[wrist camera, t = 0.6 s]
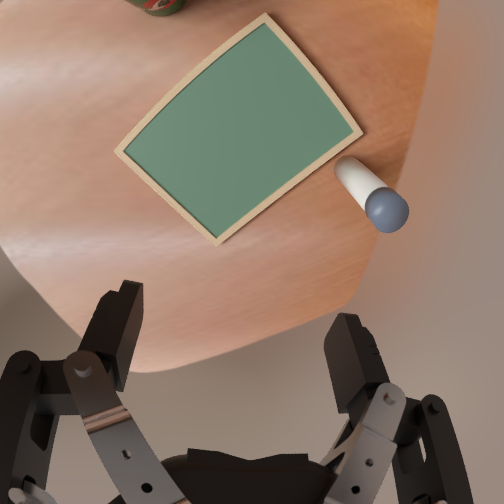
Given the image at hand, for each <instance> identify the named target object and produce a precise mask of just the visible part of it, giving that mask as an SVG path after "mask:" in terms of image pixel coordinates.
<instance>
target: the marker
mask: <svg viewBox="0 0 504 504" xmlns="http://www.w3.org/2000/svg"><path fill="white" fill-rule="evenodd" d="M334 172H335V175H336V177H337V178H338V179H339V180H340V182H341V183H342V184H343V185H344V186H345V188H346V189H347V190H348V191H349V192H350V194H351V195H352V196H353V197H354V198H355V200H356V201H357V202H358V203H359V205H360V206H361V207H362V208H363V210H364V211H365V212H366V215H367V216H368V218H369V219H370V220H371V222H372V223H373V224H374V225H375V227H376V228H377V229H378V230H379V231H381V232H383V233H391V232H395V231H397V230H398V229H400V228H401V227H402V226H403V225H404V224H405V222H406V221H407V218H408V215H409V207H408V204H407V202H406V201H405V200H404V199H403V198H402V197H401V196H400V195H399V194H397V192H395V191H394V190H393V189H391V188H389V187H388V186H387V185H386V184H385V183H384V182H383V181H382V180H380V179H379V178H378V177H377V176H376V175H375V174H374V173H372V172H371V171H370V170H369V169H368V168H367V167H365V166H364V165H363V164H362V163H361V162H359V161H358V160H357V159H356V158H354V157H352V156H343V157H341V158H340V159H339V160H338V161H337V162H336V164H335V167H334Z"/></svg>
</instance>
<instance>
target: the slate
mask: <svg viewBox="0 0 504 504" xmlns="http://www.w3.org/2000/svg"><path fill="white" fill-rule="evenodd" d="M361 135H363V132H362V131H361V129H360V128H359V126H358V125H357V123H356V122H355V120H354V119H353V117H352V116H351V115H350V113H349V112H348V110H347V109H346V108H345V106H344V105H343V103H342V102H341V101H340V99H339V98H338V97H337V95H336V94H335V93H334V91H333V90H332V89H331V87H330V86H329V85H328V83H327V82H326V81H325V80H324V78H323V77H322V76H321V75H320V73H319V72H318V71H317V70H316V68H315V67H314V66H313V65H312V63H311V62H310V61H309V60H308V59H307V57H306V56H305V55H304V54H303V53H302V52H301V50H300V49H299V48H298V47H297V46H296V45H295V44H294V42H293V41H292V40H291V39H290V38H289V37H288V36H287V35H286V34H285V33H284V31H283V30H282V29H281V28H280V27H279V26H278V25H277V24H276V23H275V22H274V21H273V20H272V19H271V18H270V17H269V16H268V15H267V14H266V13H264V14H262V15H261V16H259V17H258V18H257V19H255V20H254V21H252V22H251V23H250V24H248V25H247V26H246V27H244V28H243V29H242V30H240V31H239V32H238V33H236V34H235V35H234V36H232V37H231V38H230V39H229V40H227V41H226V42H225V43H224V44H222V45H221V46H220V47H219V48H217V49H216V50H215V51H214V52H213V53H211V54H210V55H209V56H208V57H207V58H205V59H204V60H203V61H202V62H201V63H200V64H198V65H197V66H196V67H195V68H194V69H193V70H192V71H191V72H189V73H188V74H187V75H186V76H185V77H184V78H183V79H182V80H181V81H180V82H179V83H178V84H176V85H175V86H174V87H173V88H172V89H171V90H170V91H169V92H168V93H167V94H166V95H165V96H164V97H163V98H162V99H161V100H160V101H159V102H158V103H157V104H156V105H155V106H154V107H153V108H152V109H151V110H150V111H149V112H148V113H147V114H146V115H145V117H144V118H143V119H142V120H141V121H140V122H139V123H138V124H137V125H136V126H135V127H134V128H133V129H132V131H131V132H130V133H129V134H128V135H127V136H126V137H125V138H124V140H123V141H122V142H121V143H120V144H119V145H118V147H117V148H116V149H115V150H114V151H113V152H114V153H115V154H116V155H117V156H118V157H120V158H121V159H122V160H123V161H124V162H125V163H126V164H127V165H128V166H129V167H130V168H131V169H132V170H133V171H134V172H135V173H136V174H138V175H139V176H140V177H141V178H142V179H143V180H144V181H145V182H146V183H147V184H148V185H149V186H150V187H151V188H152V189H154V190H155V191H156V192H157V193H158V194H159V195H160V196H161V197H162V198H163V199H164V200H165V201H166V202H167V203H169V204H170V205H171V206H172V207H173V208H174V209H175V210H176V211H177V212H178V213H179V214H180V215H182V216H183V217H184V218H185V219H186V220H187V221H188V222H189V223H190V224H191V225H192V226H193V227H195V228H196V229H197V230H198V231H199V232H200V233H201V234H202V235H203V236H204V237H206V238H207V239H208V240H209V241H210V242H211V243H212V244H213V245H214V246H215V247H217V246H218V245H219V244H221V243H222V242H223V241H224V240H226V239H227V238H228V237H229V236H231V235H232V234H233V233H234V232H236V231H237V230H238V229H239V228H241V227H242V226H243V225H245V224H246V223H247V222H248V221H250V220H251V219H252V218H253V217H255V216H256V215H257V214H259V213H260V212H261V211H262V210H264V209H265V208H266V207H268V206H269V205H270V204H271V203H273V202H274V201H275V200H277V199H278V198H279V197H280V196H282V195H283V194H284V193H286V192H287V191H288V190H290V189H291V188H292V187H293V186H295V185H296V184H297V183H299V182H300V181H301V180H303V179H304V178H305V177H307V176H308V175H309V174H310V173H312V172H313V171H314V170H316V169H317V168H318V167H320V166H321V165H322V164H324V163H325V162H326V161H328V160H329V159H330V158H332V157H333V156H334V155H336V154H337V153H338V152H340V151H341V150H342V149H344V148H345V147H346V146H348V145H349V144H350V143H352V142H353V141H354V140H356V139H357V138H359V137H360V136H361Z"/></svg>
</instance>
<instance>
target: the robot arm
mask: <svg viewBox="0 0 504 504" xmlns="http://www.w3.org/2000/svg"><path fill="white" fill-rule="evenodd" d="M142 320H143V283H140V282H134V281H129V280H124V281H123V283H122V285H121V287H120V290H119V292H116V291H111V290H110V291H108V292H107V293H106V294H105V295H104V296H103V297H101V299H100V301H99V303H98V305H97V307H96V310H95V312H94V314H93V317H92V318H91V320H90V323H89V325H88V327H87V330H86V332H85V334H84V336H83V339H82V341H81V344H80V346H79V348H78V350H77V351H75V352H73V353H71V354H70V355H68V356H67V358H66V359H64V360H58V361H40V359H39V357H38V356H37V355H36V354H35V353H33V352H31V351H27V350H24V351H19V352H16V353H15V354H13V355H12V356H11V357H10V358H9V360H8V362H7V364H6V367H5V369H4V371H3V374H2V376H1V379H0V504H57V503H56V501H55V499H54V498H53V497H52V496H51V495H50V494H49V493H47V492H46V491H45V488H46V482H47V475H48V469H49V463H50V458H51V453H52V448H53V443H54V438H55V434H56V429H57V425H58V421H59V417H60V415H80V416H81V418H82V420H83V423H84V426H85V429H86V431H87V433H88V435H89V437H90V439H91V441H92V443H93V446H94V448H95V449H96V452H97V453H98V455H99V457H100V459H101V461H102V463H103V465H104V467H105V469H106V470H107V472H108V474H109V475H110V477H111V479H112V481H113V483H114V484H115V486H116V488H117V489H118V491H119V493H120V495H118V496H117V497H116V498H115V499H113V500H112V501H111V502H110V503H108V504H372V503H373V501H374V499H375V497H376V495H377V493H378V491H379V488H380V486H381V484H382V482H383V480H384V477H385V475H386V473H387V471H388V468H389V466H390V463H391V461H392V466H393V471H394V477H395V483H396V489H397V495H398V501H399V504H474V503H473V498H472V494H471V489H470V485H469V481H468V477H467V473H466V469H465V465H464V462H463V458H462V454H461V451H460V448H459V444H458V441H457V438H456V434H455V432H454V428H453V425H452V422H451V419H450V416H449V413H448V410H447V407H446V405H445V403H444V402H443V400H442V399H441V398H440V397H438V396H436V395H431V394H429V395H427V396H425V397H424V398H423V399H422V400H421V401H420V400H415V399H412V398H408V397H405V394H404V392H403V391H402V390H401V389H400V388H399V387H398V386H396V385H394V384H392V383H390V380H389V377H388V374H387V372H386V369H385V366H384V364H383V361H382V358H381V356H380V355H379V354H380V353H379V350H378V348H377V345H376V343H375V340H374V337H373V335H372V334H371V333H370V332H369V331H368V329H367V328H366V327H362V325H361V322H360V319H359V317H358V315H356V314H348V313H339V314H338V315H337V317H336V319H335V321H334V323H333V324H332V326H331V328H330V330H329V332H328V333H327V335H326V337H325V341H324V352H325V356H326V360H327V364H328V368H329V373H330V377H331V381H332V386H333V390H334V395H335V399H336V403H337V408H338V413H339V414H340V413H349V419H348V420H347V421H346V423H345V425H344V426H343V428H342V430H341V432H340V434H339V435H338V437H337V439H336V441H335V442H334V444H333V446H332V448H331V449H330V451H329V452H328V454H327V455H326V456H325V457H324V458H323V459H322V461H321V462H320V463H319V464H318V463H316V462H313V461H309V460H308V454H278V455H274V456H270V457H265V458H261V459H256V460H246V459H242V458H239V457H235V456H232V455H229V454H225V453H222V452H219V451H209V450H199V449H190V448H188V451H187V454H185V455H178V456H173V457H170V458H167V459H165V460H163V461H161V462H160V461H159V460H158V458H157V457H156V455H155V453H154V452H153V450H152V449H151V447H150V446H149V444H148V443H147V441H146V439H145V438H144V436H143V434H142V433H141V431H140V429H139V428H138V426H137V424H136V423H135V421H134V419H133V417H132V416H131V414H130V413H129V411H128V410H127V409H125V407H124V406H123V404H122V402H121V400H120V399H119V397H118V395H117V393H116V391H119V392H123V391H124V387H125V383H126V379H127V375H128V371H129V368H130V364H131V360H132V357H133V353H134V349H135V346H136V342H137V339H138V335H139V332H140V329H141V325H142ZM421 437H422V440H423V444H424V448H425V452H426V460H425V462H424V460H423V456H422V453H421V448H420V444H419V439H420V438H421Z"/></svg>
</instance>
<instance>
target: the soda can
mask: <svg viewBox="0 0 504 504" xmlns="http://www.w3.org/2000/svg"><path fill="white" fill-rule="evenodd" d="M125 1H127V2H128V3H130V4H132V5H134V6H136V7H137V8H139V9H141V10H143V11H144V12H146V13H148V14H150V15H152V16H167V15H170V14H172V13H174V12H176V11H177V10H179V9H180V8H181V7H182V6H183V5H184V3H185V2H186V0H125Z"/></svg>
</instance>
